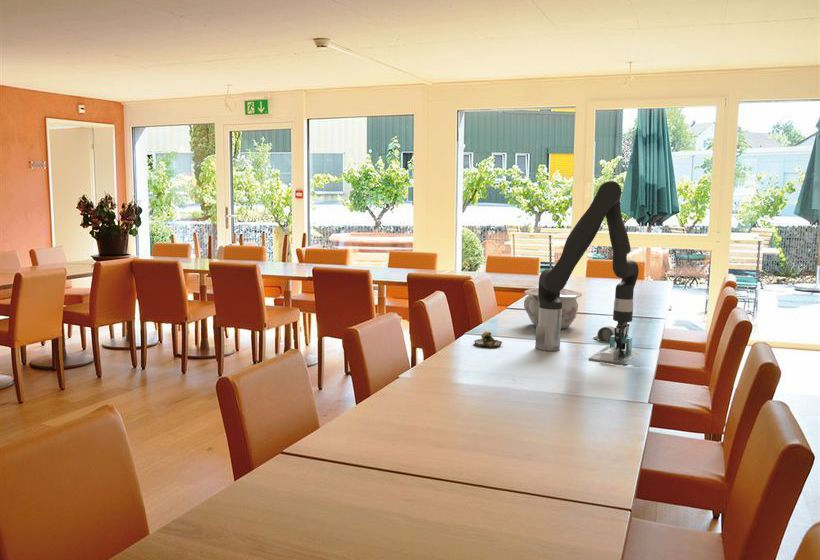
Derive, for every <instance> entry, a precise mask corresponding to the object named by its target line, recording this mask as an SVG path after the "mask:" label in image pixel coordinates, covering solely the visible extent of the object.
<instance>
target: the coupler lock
mask: <svg viewBox="0 0 820 560" xmlns="http://www.w3.org/2000/svg"><path fill="white" fill-rule="evenodd" d="M618 339H620V338H619V337H618ZM614 340H615V335H612V336H611V337H610V342H609V347H610V348H611V347H615V348H616V342H615V341H614ZM622 343H625V344H626V345H625V349H626V354H629V353H630V352H631V350H633V349H632V347H633V337H632V336H629V335H628V336H625V337H624V338H623V342H622Z"/></svg>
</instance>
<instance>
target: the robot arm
mask: <svg viewBox="0 0 820 560" xmlns="http://www.w3.org/2000/svg"><path fill="white" fill-rule="evenodd" d="M621 197H622V187H621V186H620V184H619V183H618V182H617V181H614V180H607V181H605V182H603V183H601V185H600V186H599V187H598V190H597V192H596V193H595V196H594V198H593V199H592V201H591V203H590V205H589V206H588V208H587V209H586V210H585V212H584V213H583V214H582V216H581V217H580V218H579V220H578V221H577V223H576V224H575V225H574V227H573V229H572V230H571V231H570V232H569V234H568V236H567V238H566V240H565V243H564V246H563V248H562V252H561V255H560V257H559V259H558V261H557V262H556V263H555V265H554V266H553V267H552V268H546V269H544V270H543V271H541V273H540V275H539V278H538V288H539V289H538V298H539V322H538V325H537V326H536V325H535V327H536V328H535V329H536V330H535V345H534V347H535V348H536V349H538V350H542V351H544V352H545V351H550V352H551V351H552V352H555V351H560V350H561V348H560V347H561V331H562V329H561V317H562V301H561V298H560V291H561V290H562V289H565V287H566V285H567V283H568V281H569V280H570V277H571V275H572V273H573V271H574V269H575V268H576V266H577V264H578V263H579V262H580V260H581V259H582V257H583V256H584V254H585V253H586V252H587V250H588V248H589V247H590V245H591V244H592V243H593V241H594V239H595V238H596V235H597V234H598V232H599V230H600V228H601V225H602V223H603V221H604V219H605V220H606V224H607V229H608V235H609V238H610V239H609V241H610V244H611V249H612V271H613V273H614V275H615V276H616V277H617V278H618V279H621V281H620V282H618V283H617V284H616V286H615V292H614V301H613V311H612V313H613V314H612V320H613V321H615V322H617V325H616V326H615V329H614V330H615V340H614V341H615V342H616V348H619V352H621V351H622V350H624V349H626V344H625V343H622V342H623V338H624V337H625V336H628V337H629V331H630V330H629V329H630V323H631V322H633V314H634V291H635V286H636V283H637V280H638V276H639V273H640V270H639V269H640V268H639V265H638V263H637V262H636V261H635V260H632V259H628V254H629V253H631V244H630V239H629V235H628V231H627V228H626V226H625V223H624V220H623V216H622V210H621ZM618 337H619V338H620V339H618Z"/></svg>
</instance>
